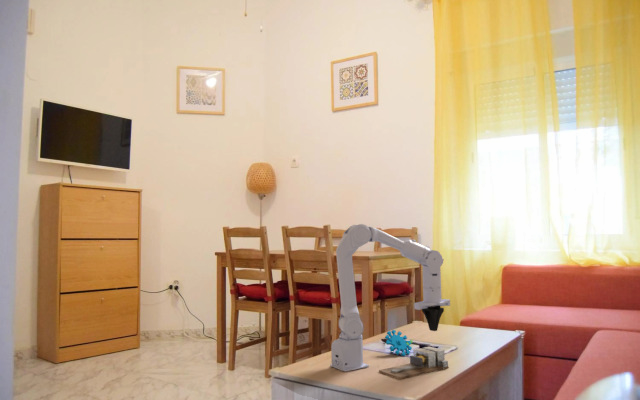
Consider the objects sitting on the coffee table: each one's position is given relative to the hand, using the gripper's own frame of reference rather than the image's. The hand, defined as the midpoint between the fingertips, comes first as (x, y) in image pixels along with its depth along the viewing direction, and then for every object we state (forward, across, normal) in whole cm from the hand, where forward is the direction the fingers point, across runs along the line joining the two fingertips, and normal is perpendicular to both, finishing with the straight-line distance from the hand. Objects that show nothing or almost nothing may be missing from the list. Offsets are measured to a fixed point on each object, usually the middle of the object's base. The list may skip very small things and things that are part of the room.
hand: (433, 330), depth 154 cm
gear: (+10, -1, +15) cm, 18 cm away
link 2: (+9, -3, -3) cm, 10 cm away
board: (+10, -12, -2) cm, 15 cm away
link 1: (+9, -7, -2) cm, 12 cm away
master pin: (+9, -6, -2) cm, 11 cm away
